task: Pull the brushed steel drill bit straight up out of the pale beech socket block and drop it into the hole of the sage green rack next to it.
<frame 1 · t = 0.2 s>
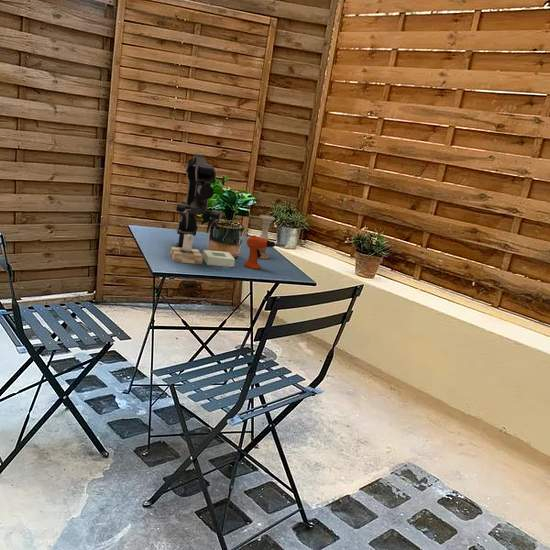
hand: (196, 230, 232), 14 cm above the table, tool pointing down, fingers open, 9 cm apart
candle holder: (260, 257, 268), on the table
toy drill: (261, 270, 243), on the table
bit rack: (217, 262, 243), on the table
socket block: (185, 259, 238), on the table
drill bit: (187, 247, 237), in the socket block
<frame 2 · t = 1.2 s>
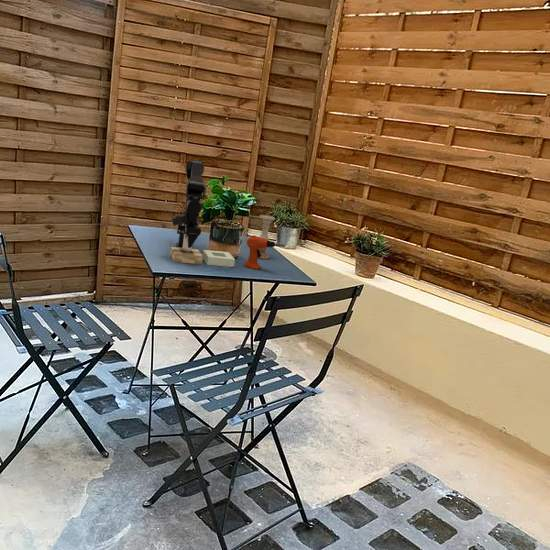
hand: (187, 245, 237), 6 cm above the table, tool pointing down, fingers open, 9 cm apart
nothing on the table moved.
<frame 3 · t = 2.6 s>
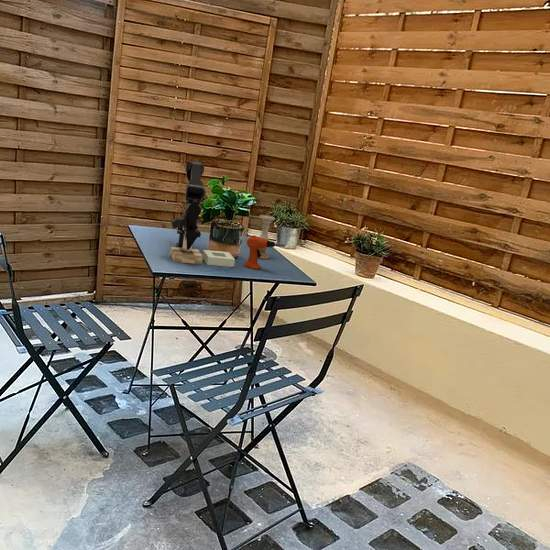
hand: (187, 248, 237), 5 cm above the table, tool pointing down, fingers closed on drill bit, 4 cm apart
drill bit: (187, 247, 237), in the socket block, touching gripper
everything else where it was.
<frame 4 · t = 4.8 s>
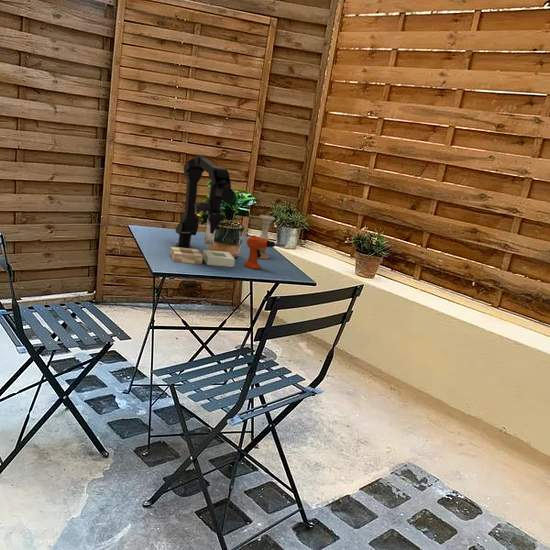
hand: (210, 232, 238), 13 cm above the table, tool pointing down, fingers closed on drill bit, 4 cm apart
drill bit: (210, 231, 238), point 14 cm above the table, touching gripper
everything else where it was.
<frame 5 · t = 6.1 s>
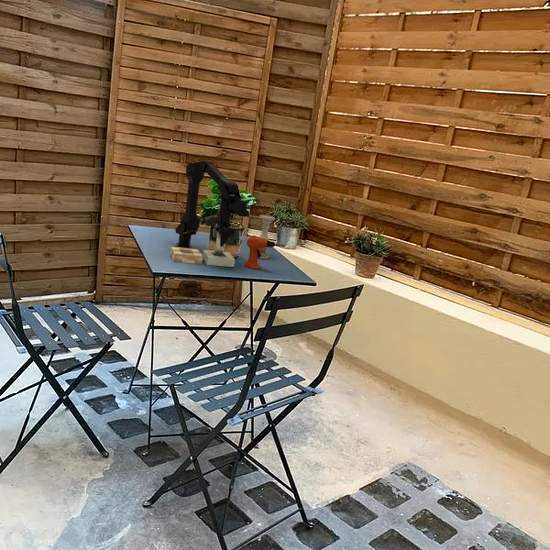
hand: (220, 245, 241), 8 cm above the table, tool pointing down, fingers closed on drill bit, 4 cm apart
drill bit: (220, 244, 241), point 8 cm above the table, touching gripper
everything else where it was.
when the fingers open (6 cm above the table, at t = 7.1 s): drill bit drops 1 cm, resting in bit rack.
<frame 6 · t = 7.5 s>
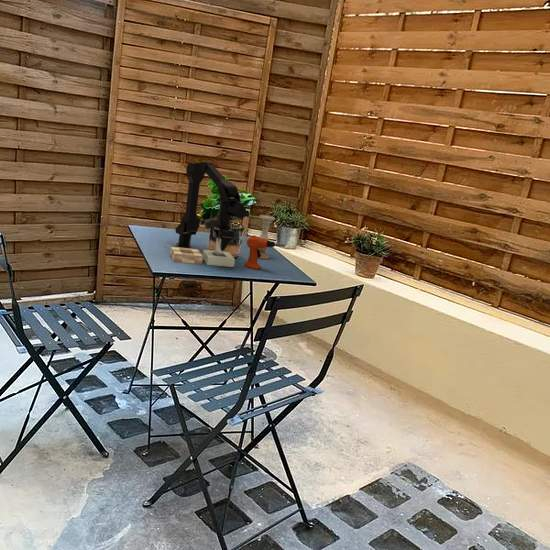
hand: (219, 248, 242), 6 cm above the table, tool pointing down, fingers open, 9 cm apart
drill bit: (219, 250, 242), in the bit rack
everything else where it was.
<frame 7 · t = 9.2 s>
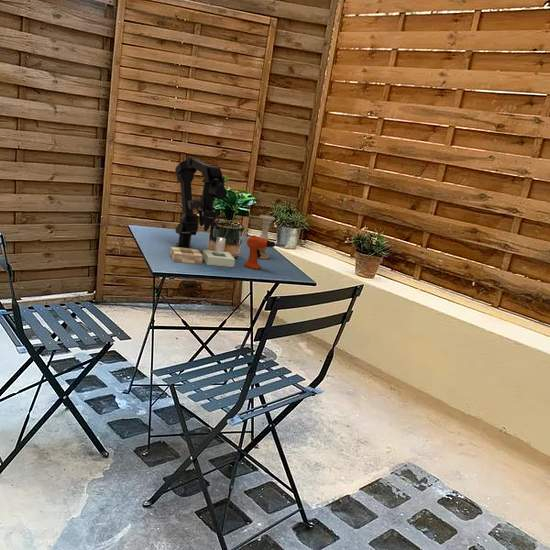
hand: (203, 228, 245), 13 cm above the table, tool pointing down, fingers open, 9 cm apart
nothing on the table moved.
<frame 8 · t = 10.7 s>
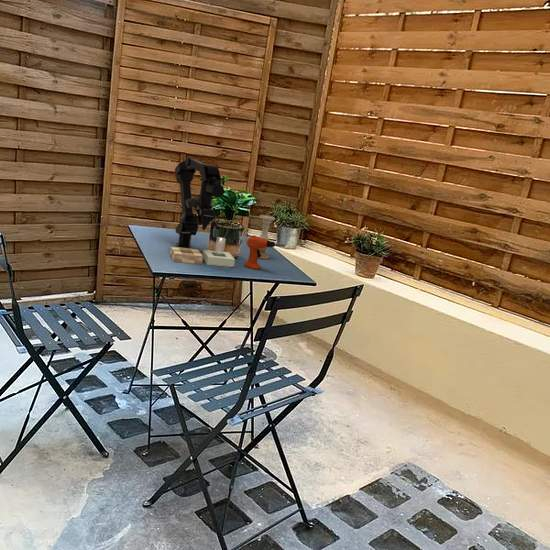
hand: (201, 227, 245), 13 cm above the table, tool pointing down, fingers open, 9 cm apart
nothing on the table moved.
at the end: drill bit 0.1 cm off-centre on the bit rack, point 5.5 cm above the bit rack's base; drill bit tilted 0°; the gripper is holding nothing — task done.
